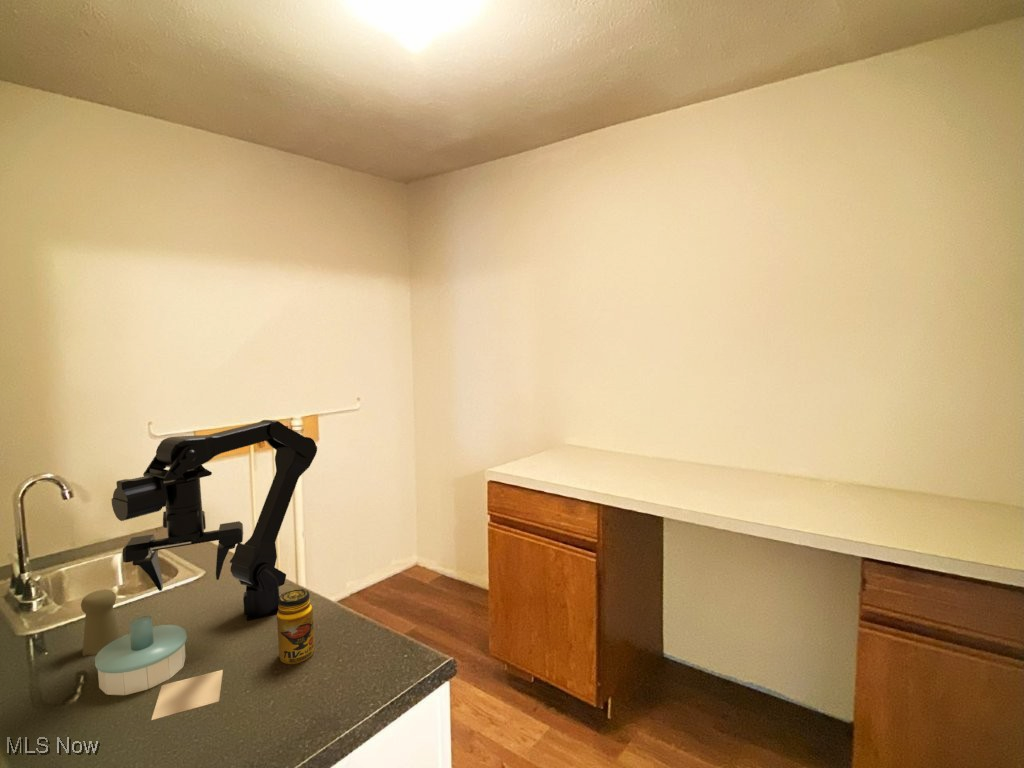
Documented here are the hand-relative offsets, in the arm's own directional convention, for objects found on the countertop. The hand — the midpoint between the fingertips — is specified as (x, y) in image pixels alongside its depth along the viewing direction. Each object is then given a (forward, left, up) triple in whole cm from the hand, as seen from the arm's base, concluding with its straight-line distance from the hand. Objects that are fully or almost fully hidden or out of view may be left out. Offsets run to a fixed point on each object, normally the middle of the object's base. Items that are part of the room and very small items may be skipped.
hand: (190, 584), depth 97 cm
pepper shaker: (+16, -8, -13) cm, 22 cm away
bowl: (+7, +6, -12) cm, 15 cm away
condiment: (-17, +12, -13) cm, 24 cm away
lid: (+7, +6, -8) cm, 12 cm away
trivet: (-1, +16, -12) cm, 20 cm away
